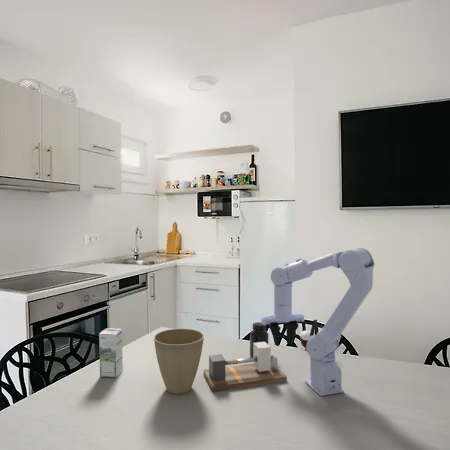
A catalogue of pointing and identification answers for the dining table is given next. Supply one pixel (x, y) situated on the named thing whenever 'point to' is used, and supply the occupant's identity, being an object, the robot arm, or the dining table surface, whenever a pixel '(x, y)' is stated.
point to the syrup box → (110, 352)
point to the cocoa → (308, 334)
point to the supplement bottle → (258, 335)
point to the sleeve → (262, 356)
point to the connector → (217, 367)
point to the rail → (273, 361)
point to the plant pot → (178, 357)
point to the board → (244, 377)
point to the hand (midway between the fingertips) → (282, 344)
